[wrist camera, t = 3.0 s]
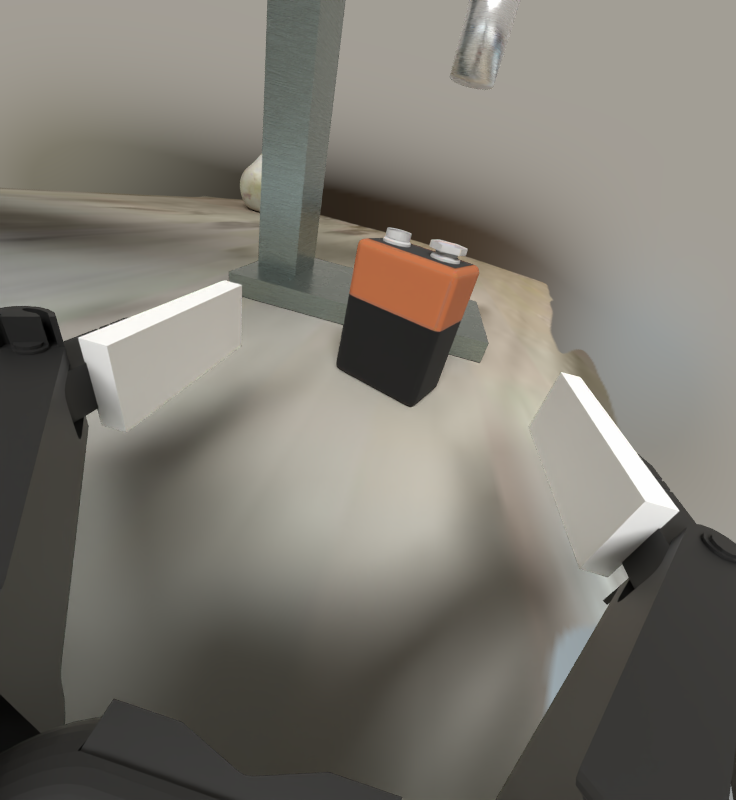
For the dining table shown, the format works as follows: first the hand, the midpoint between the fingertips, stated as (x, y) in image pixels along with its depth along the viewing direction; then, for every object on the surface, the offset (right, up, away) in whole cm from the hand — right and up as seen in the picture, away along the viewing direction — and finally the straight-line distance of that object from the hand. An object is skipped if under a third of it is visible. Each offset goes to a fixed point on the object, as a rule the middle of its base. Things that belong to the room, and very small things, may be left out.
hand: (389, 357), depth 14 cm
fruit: (-25, +41, +64) cm, 80 cm away
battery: (0, 0, +12) cm, 12 cm away
